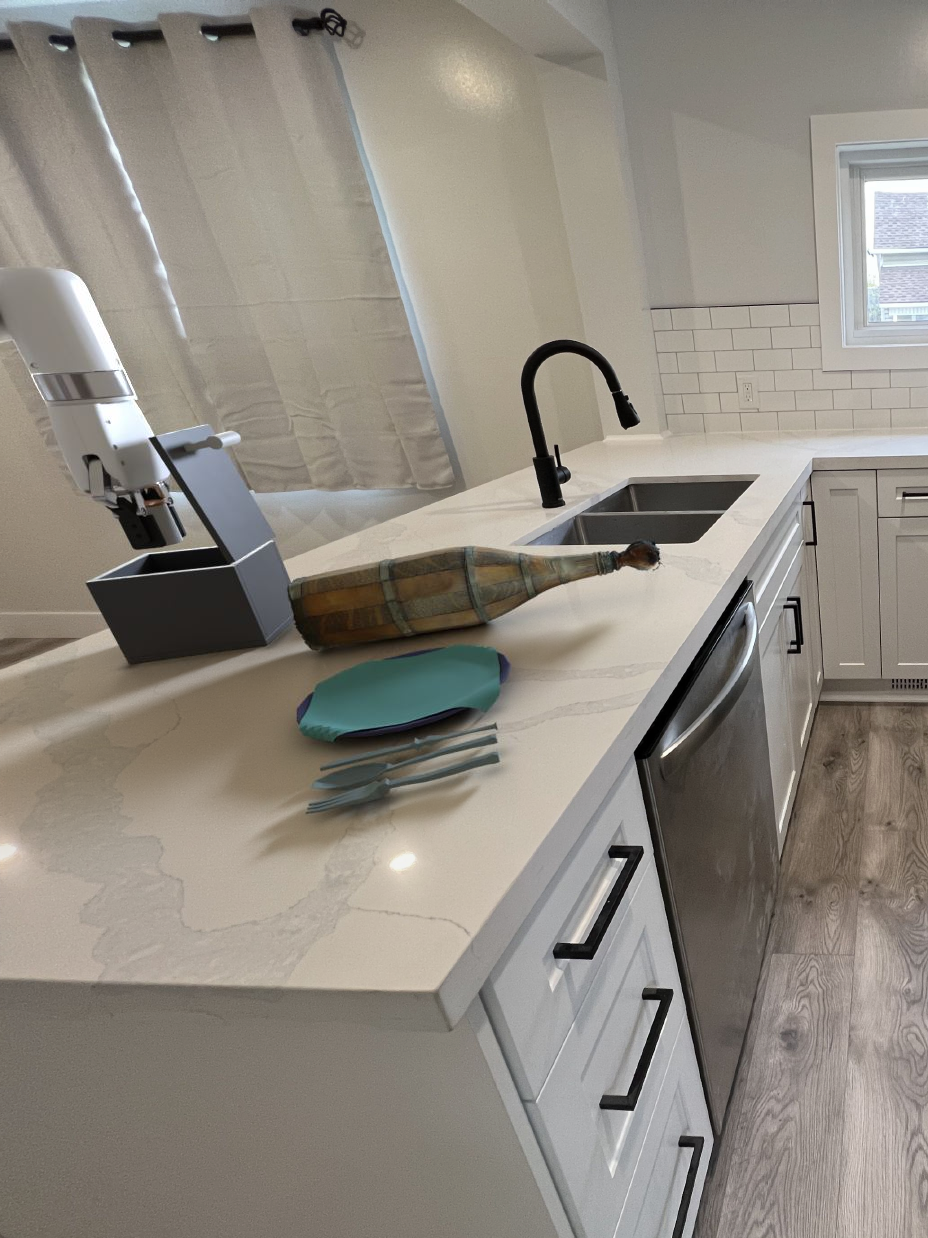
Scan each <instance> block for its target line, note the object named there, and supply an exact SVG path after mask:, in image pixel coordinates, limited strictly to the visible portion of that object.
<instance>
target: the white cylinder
mask: <svg viewBox="0 0 928 1238" xmlns="http://www.w3.org/2000/svg"><path fill="white" fill-rule="evenodd" d="M143 502H144V504H145V507H146V510H147V515H151V514H153V516H154V518H155V520H156V522H157V524H158V526H159V528H160V531H161V533H162V535H163V537H164V539H165V541H166V543H167V545H166V546H165V547H168V546H174V545H177V544H179V543H182V542H184V539H183V538H184V537H182V536H181V534H180V532H179V530H178V528H177V526H176V523H175V521H174V519H173V517H172V515H171V513H170V511H169V508H168V506H167V504H166V503H167V502H166V500H148V501H143Z"/></svg>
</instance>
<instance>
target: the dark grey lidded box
mask: <svg viewBox="0 0 928 1238" xmlns="http://www.w3.org/2000/svg"><path fill="white" fill-rule="evenodd" d="M280 553H281V552H280V551H279V548H278V545H277V543H276V541H275V540H273V539H271V540H269V541H268V542H266V543H265V544H263V545H261V546H260V547H258V548H257V549H255V550H253V551H252V552H250V553H249V554H247V555H245V556H244V557H242V558H241V559H239V560H237V561H236V562H233V563H228V562H227V560H226V559H225V557H224V556H223V554H222V552H221V551H220V549H219V548H218V546H217V545H215V546H205V547H195V548H185V549H176V550H175V549H174V550H165V551H155V552H145V553H143V554H141V555H139V556H137V557H135V558H133V559H130V560H128V561H126V562H124V563H122V564H121V565H118V566H116V567H114V568H112V569H109V570H108V571H106V572H104V573H102V574H100V575H98V576H96V577H93V578H92V579H89V580H87V581H85V582H84V583H85V586H86V587H87V589H88V591H89V593H90V595H91V597H92V598H93V601H94V602H95V604H96V606H97V608H98V610H99V611H100V613H101V616H102V617H103V619H104V621H105V623H106V625H107V627H108V629H109V630H110V632H111V634H112V636H113V638H114V640H115V642H116V644H117V645H118V647H119V648H120V651H121V653H122V655H123V657H124V658H125V661H126V663H127V664H128V665H133V664H139V663H147V662H154V661H155V662H156V661H161V660H170V659H177V658H184V657H190V656H198V655H204V654H212V653H220V652H227V651H234V650H240V649H241V650H242V649H249V648H256V647H262V646H263V647H264V646H268V645H269V644H271V642H273V641H274V640H275V639H276V638H277V637H278V636H279V635H280V634H281V633H282V632H283V631H284V630H285V629H286V628H288V627H289V626H290V625H291V624H292V623H294V622H295V621H294V619H293V612H292V608H291V603H290V601H289V600H288V598H289V597H288V592H287V586H288V585H289V584H291V583H292V580H291V578H290V576H289V574H288V571H287V568H286V566H285V563H284V561H283V558H282V555H281V554H280Z"/></svg>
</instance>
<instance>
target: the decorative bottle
mask: <svg viewBox="0 0 928 1238" xmlns="http://www.w3.org/2000/svg"><path fill="white" fill-rule="evenodd" d="M660 550H661V548H659V547H658V546H657V545H656V542H655V541H654V540H653V541H652V540H649V541H646V540H644V539H638V540H635V541H632V542H631V543H630V544H629V545H628V546H627V547H626V548H625V550H622V551H619V552H618V551H616V550H614V549H613V550H611V551H610V550H607V551H602V550H600V551H594V552H588V553H578V554H566V555H539V554H538V555H537V554H536V555H535V554H529V553H525V552H517V551H512V550H507V549H501V548H496V547H495V548H493V547H487V546H486V547H485V546H477V545H466V546H452V547H446V548H440V549H435V550H430V551H425V552H419V553H415V554H409V555H405V556H400V557H395V558H386V559H385V558H384V559H382V560H379V561H374V562H369V563H363V564H360V565H359V564H358V565H354V566H349V567H345V568H340V569H334V570H330V571H324V572H321V573H316V574H313V575H308V576H301V577H297V578H294V579H293V580H291V584H289V585H288V586H287V592H288V597H289V598H288V600H289V601H290V603H291V608H292V612H293V619H294V621H293V623H294V626H295V630H297V632H298V633H299V635H301V636H300V637H301V639H302V640H303V641H304V644H305V645H306V646H307V647H308V649H310V650H311V651H317V652H318V651H319V650H322V649H330V648H335V647H341V646H346V645H347V646H348V645H355V644H363V643H370V642H376V641H384V640H390V639H397V638H404V637H412V636H416V635H422V634H429V633H435V632H441V631H447V630H454V629H459V628H468V627H472V626H477V625H480V624H484V623H489V622H491V621H493V620H496V619H497V618H501V617H502V616H504V615H507V614H508V613H510V612H511V611H514V610H515V609H517V608H519V607H520V606H522V605H524V604H526V603H527V602H529V601H530V600H533V599H535V598H536V597H538V596H539V595H541V594H543V593H545V592H547V591H549V590H551V589H554V588H556V587H559V586H561V585H566V584H569V583H572V582H576V581H580V580H585V579H589V578H593V577H597V576H598V577H602V576H606V575H608V574H612V573H614V571H616V572H619V571H620V570H621V569H622V568H624V567H629V568H632V569H636V570H637V571H642V572H643V571H645V572H648V571H649V570H652V571H653V572H654V571H656V570H658V569H659V567H660V565H663V563H662V562H661V560H662V559H661V557H660V554H661V553H660ZM657 564H658V566H656V565H657ZM655 566H656V568H654V567H655ZM663 567H665V565H663ZM652 568H654V569H652Z"/></svg>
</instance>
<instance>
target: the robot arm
mask: <svg viewBox="0 0 928 1238" xmlns="http://www.w3.org/2000/svg"><path fill="white" fill-rule="evenodd" d="M11 341H13V343H14V345H15V347H16V348H17V350H18V353H19V354H20V356H21V359H22V360H23V362H24V364H25V366H26V368H27V370H28V372H29V374H30V375H31V378H32V379H33V382H34V383H35V386H36V387H37V389H38V391H39V393H40V395H41V397H42V399H43V400H44V403H45V405H46V409H47V414H48V418H49V422H50V425H51V428H52V431H53V434H54V436H55V439H56V441H57V444H58V447H59V449H60V452H61V453H62V456H63V459H64V460H65V463H66V466H67V467H68V470H69V472H70V474H71V476H72V479H73V480H74V482H75V484H76V486H77V488H78V489H79V491H81V492H82V493H84V494H86V495H90V497H91V499H92V500H93V501H94V502H95V503H97V504H100V505H102V506H104V507H105V508H106V509H108V510H109V511H110V512H111V514H112V516H113V518H115V520H118V522H119V524H120V526H121V529H122V530H123V532H124V534H125V536H126V538H127V540H128V542H129V544H130V547H131V548H132V549H133V550H135V551H142V550H151V549H159V548H164V547H167V546H166V545H167V543H166V541H165V539H164V537H163V535H162V533H161V531H160V528H159V526H158V524H157V522H156V520H155V518H154V516H153V514H151V515H147V510H146V507H145V504H144V502H143V501H148V500H166V502H167V503H166V504H167V506H168V508H169V511H170V513H171V515H172V517H173V519H174V521H175V523H176V526H177V528H178V530H179V532H180V534H181V536H182V538H185V537H186V536H187V532H186V530H185V528H184V525H183V524H182V521H181V519H180V517H179V514H178V511H177V510H176V508H175V506H174V504H175V501H174V499H173V497H172V495H171V493H170V489H171V488H170V483H171V479H172V476H171V473H170V471H169V470H168V468H167V467H166V465H165V464H164V462H163V461H162V459H161V457H160V456H159V454H158V453H157V451H156V450H155V448H154V446H153V445H152V443H151V442H150V440H149V439H148V438H149V437H154V436H155V434H154V432H153V430H152V428H151V426H150V424H149V423H148V420H146V418H145V416H144V414H143V412H142V410H141V409H140V407H139V406H138V404H137V403H136V401H137V400H138V396H137V395H136V392H135V390H134V388H133V386H132V384H131V381H130V379H129V377H128V375H127V373H126V370H125V369H124V367H123V364H122V362H121V359H120V358H119V355H118V353H117V351H116V349H115V347H114V344H113V342H112V340H111V338H110V335H109V333H108V331H107V329H106V327H105V324H104V322H103V320H102V318H101V316H100V314H99V311H98V308H97V307H96V305H95V302H94V300H93V298H92V296H91V294H90V292H89V289H88V287H87V286H86V283H84V281H83V280H82V279H81V278H80V277H79V276H78V275H77V274H76V273H73V272H71V270H66V269H62V268H55V267H45V266H43V267H41V266H3V267H2V266H1V267H0V343H5V342H11ZM119 487H120V488H123V489H122V490H115V489H116V488H119ZM127 496H128V497H129V498H130V500H129V499H128V498H126V497H127Z"/></svg>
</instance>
